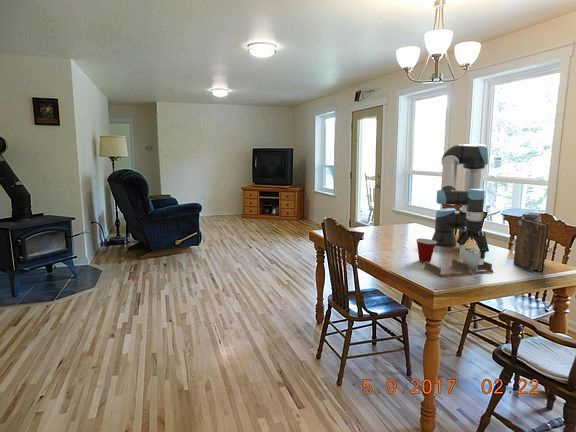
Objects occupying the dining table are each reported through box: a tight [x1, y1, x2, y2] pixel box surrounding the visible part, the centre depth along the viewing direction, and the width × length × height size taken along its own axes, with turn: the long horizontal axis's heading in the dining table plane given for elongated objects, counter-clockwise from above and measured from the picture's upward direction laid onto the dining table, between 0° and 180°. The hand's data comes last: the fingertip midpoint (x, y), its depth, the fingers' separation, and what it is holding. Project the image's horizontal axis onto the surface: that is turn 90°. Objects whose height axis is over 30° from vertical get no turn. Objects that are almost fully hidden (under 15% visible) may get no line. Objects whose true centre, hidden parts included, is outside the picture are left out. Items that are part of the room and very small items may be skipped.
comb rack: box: [424, 259, 494, 278], centre depth 189 cm, size 30×13×4 cm, turn 103°
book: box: [513, 218, 550, 273], centre depth 191 cm, size 17×7×25 cm, turn 177°
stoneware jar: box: [462, 248, 479, 271], centre depth 191 cm, size 7×7×10 cm
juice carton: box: [520, 210, 542, 222], centre depth 208 cm, size 9×10×27 cm
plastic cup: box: [415, 238, 437, 264], centre depth 204 cm, size 11×11×12 cm
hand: (470, 260), depth 191 cm, fingers open, 13 cm apart
